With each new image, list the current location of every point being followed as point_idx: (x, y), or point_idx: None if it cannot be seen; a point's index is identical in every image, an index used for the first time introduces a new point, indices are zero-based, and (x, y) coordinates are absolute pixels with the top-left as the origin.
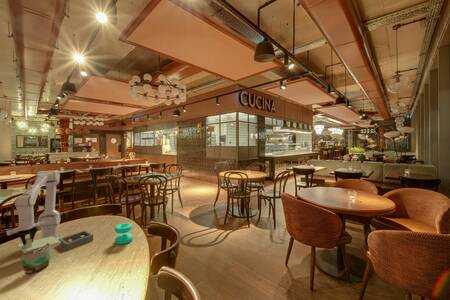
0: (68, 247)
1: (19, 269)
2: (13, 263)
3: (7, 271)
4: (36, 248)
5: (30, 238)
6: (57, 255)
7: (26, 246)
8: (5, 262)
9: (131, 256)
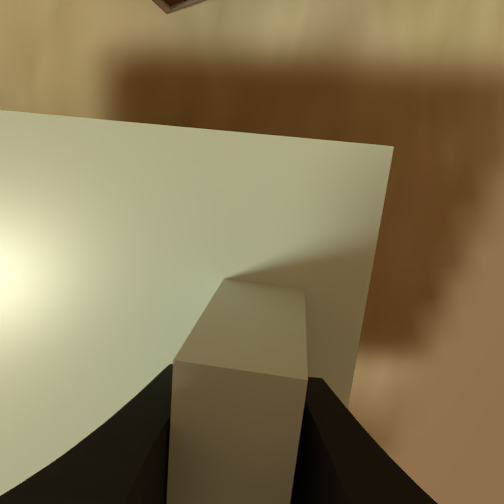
0: None
1: (387, 134)
2: (359, 342)
3: (460, 210)
4: (188, 127)
5: (183, 455)
6: (21, 79)
7: (303, 303)
8: (385, 431)
9: None
